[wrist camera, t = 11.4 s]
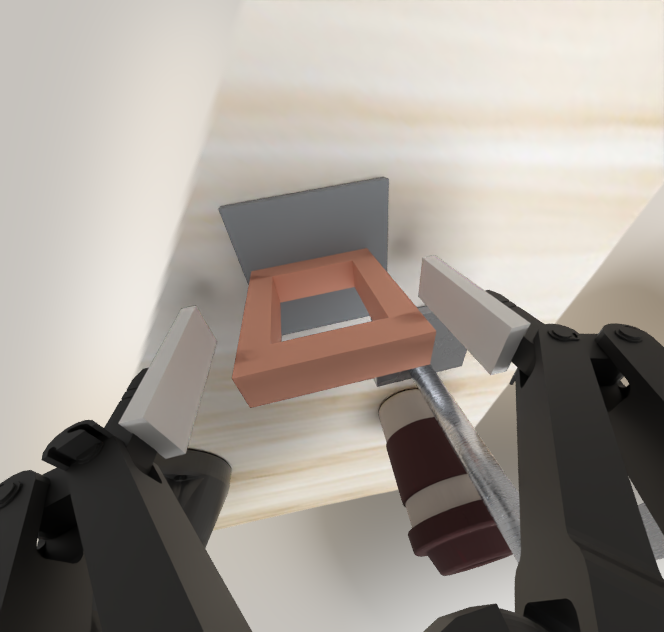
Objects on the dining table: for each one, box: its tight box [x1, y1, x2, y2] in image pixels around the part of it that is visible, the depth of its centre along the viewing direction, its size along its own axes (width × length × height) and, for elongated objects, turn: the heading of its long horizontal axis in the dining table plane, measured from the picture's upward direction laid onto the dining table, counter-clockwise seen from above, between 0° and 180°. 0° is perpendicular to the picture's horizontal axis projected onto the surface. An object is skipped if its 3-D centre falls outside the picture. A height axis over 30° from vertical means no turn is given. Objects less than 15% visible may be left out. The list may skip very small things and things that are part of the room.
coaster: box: [219, 177, 389, 335], centre depth 17 cm, size 10×10×1 cm
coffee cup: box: [379, 389, 513, 576], centre depth 26 cm, size 10×10×15 cm
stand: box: [372, 306, 664, 564], centre depth 16 cm, size 10×14×19 cm
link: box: [232, 248, 436, 408], centre depth 13 cm, size 8×2×9 cm, turn 97°
